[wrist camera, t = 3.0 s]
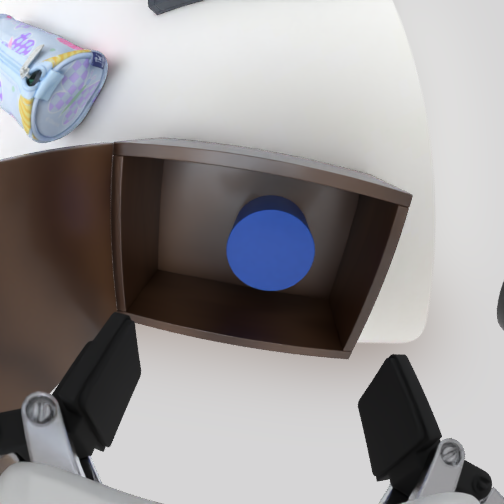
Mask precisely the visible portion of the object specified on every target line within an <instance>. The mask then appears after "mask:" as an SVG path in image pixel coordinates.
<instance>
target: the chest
mask: <svg viewBox="0 0 504 504" xmlns="http://www.w3.org/2000/svg"><path fill="white" fill-rule="evenodd" d="M113 155H114V156H113V159H112V177H111V242H112V261H113V275H114V286H115V295H116V304H117V312H118V313H121V314H125V315H129V316H130V318H131V320H132V321H134V322H135V323H138V324H142V325H146V326H150V327H154V328H157V329H162V330H166V331H170V332H174V333H179V334H183V335H187V336H192V337H196V338H201V339H206V340H211V341H216V342H221V343H227V344H232V345H238V346H244V347H250V348H256V349H263V350H269V351H277V352H284V353H291V354H300V355H309V356H318V357H328V358H341V359H348V358H349V357H350V355H351V353H352V350H353V348H354V346H355V344H356V342H357V340H358V338H359V336H360V334H361V332H362V330H363V328H364V326H365V324H366V322H367V319H368V317H369V315H370V313H371V310H372V308H373V306H374V304H375V301H376V299H377V297H378V294H379V292H380V289H381V287H382V284H383V282H384V279H385V277H386V274H387V272H388V269H389V266H390V264H391V261H392V258H393V256H394V253H395V250H396V247H397V244H398V241H399V238H400V235H401V232H402V229H403V226H404V223H405V220H406V216H407V213H408V210H409V208H408V207H410V203H411V200H412V194H410V193H408V192H406V191H404V190H402V189H400V188H398V187H395V186H393V185H391V184H389V183H387V182H385V181H383V180H381V179H378V178H376V177H374V176H372V175H369V174H366V173H362V172H359V171H355V170H351V169H347V168H344V167H340V166H336V165H331V164H327V163H323V162H319V161H314V160H310V159H305V158H301V157H296V156H291V155H286V154H281V153H276V152H270V151H264V150H259V149H253V148H246V147H240V146H233V145H226V144H219V143H211V142H202V141H193V140H183V139H172V138H151V139H139V140H129V141H119V142H114V144H113ZM268 195H274V196H280V197H283V198H286V199H288V200H290V201H292V202H293V203H294V204H296V205H297V206H298V207H299V209H300V210H301V211H302V213H303V214H304V216H305V219H306V221H307V224H308V227H309V229H310V232H311V234H312V237H313V240H314V244H315V256H314V261H313V263H312V266H311V268H310V270H309V271H308V273H307V274H306V275H305V276H304V278H303V279H301V280H300V281H299V282H298V283H296V284H295V285H293V286H291V287H289V288H286V289H282V290H277V291H264V290H259V289H256V288H253V287H251V286H249V285H247V284H245V283H244V282H242V281H241V280H240V279H239V278H238V277H237V276H236V275H235V274H234V272H233V271H232V269H231V267H230V265H229V263H228V259H227V254H226V246H227V240H228V237H229V235H230V232H231V230H232V227H233V225H234V222H235V220H236V218H237V215H238V214H239V212H240V210H241V209H242V208H243V207H244V206H245V205H246V204H247V203H248V202H250V201H252V200H253V199H256V198H258V197H262V196H268Z"/></svg>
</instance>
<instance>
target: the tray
mask: <svg viewBox="0 0 504 504" xmlns="http://www.w3.org/2000/svg"><path fill="white" fill-rule="evenodd" d="M199 1H203V0H148V6H149V8H150V9H151V10H152V11H153V12H155V13H156V14H157V15H158V14H161V13H164V12H167V11H169V10H172V9H175V8H179V7H182V6H185V5H188V4H192V3H195V2H199Z"/></svg>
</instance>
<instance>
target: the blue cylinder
mask: <svg viewBox="0 0 504 504" xmlns="http://www.w3.org/2000/svg"><path fill="white" fill-rule="evenodd" d="M226 254H227V259H228V263H229V265H230V267H231V269H232V271H233V272H234V274H235V275H236V276H237V277H238V278H239V279H240V280H241V281H242V282H244V283H245V284H247V285H249V286H251V287H253V288H256V289H259V290H264V291H277V290H282V289H286V288H289V287H291V286H293V285H295V284H296V283H298V282H299V281H300V280H301V279H303V278H304V276H305V275H306V274H307V273H308V271H309V270H310V268H311V266H312V263H313V261H314V256H315V244H314V240H313V237H312V234H311V232H310V229H309V227H308V224H307V221H306V219H305V216H304V214H303V213H302V211H301V210H300V209H299V207H298V206H297V205H296V204H294V203H293V202H292V201H290V200H288V199H286V198H283V197H280V196H274V195H268V196H262V197H258V198H256V199H253V200H252V201H250V202H248V203H247V204H246V205H245V206H244V207H243V208H242V209H241V210H240V212H239V214H238V215H237V218H236V220H235V222H234V225H233V227H232V230H231V232H230V235H229V237H228V240H227V246H226Z"/></svg>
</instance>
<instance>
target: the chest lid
mask: <svg viewBox="0 0 504 504" xmlns="http://www.w3.org/2000/svg"><path fill="white" fill-rule="evenodd" d="M112 157H113V143H95V144H86V145H78V146H71V147H64V148H57V149H51V150H45V151H40V152H34V153H29V154H24V155H19V156H15V157H10V158H6V159H2V160H0V413H1V412H6V411H11V410H15V409H20V408H21V406H22V403H23V401H24V399H25V398H26V397H27V396H28V395H30V394H31V393H34V392H37V391H44V392H47V393H50V392H51V391H52V390H53V389H54V388H55V387H56V386H57V385H58V384H59V383H60V382H61V380H62V379H63V377H64V375H65V374H66V372H67V371H68V369H69V368H70V366H71V365H72V364H73V362H74V361H75V359H76V358H77V356H78V355H79V353H80V352H81V350H82V349H83V348H84V346H85V345H86V344H87V343H88V342H89V341H93V340H94V339H95V337H96V336H97V334H98V333H99V332H100V330H101V329H102V327H103V326H104V325H105V323H106V322H107V320H108V319H109V318H110V316H111V315H112V314H113V313H114V312H117V305H116V296H115V287H114V276H113V263H112V246H111V174H112Z"/></svg>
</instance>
